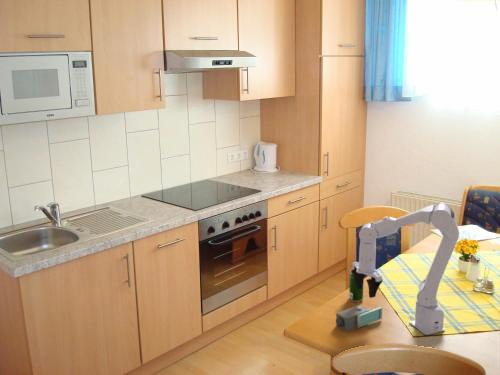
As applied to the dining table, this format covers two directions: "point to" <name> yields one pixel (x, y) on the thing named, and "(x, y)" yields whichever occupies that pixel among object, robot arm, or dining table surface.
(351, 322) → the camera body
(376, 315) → the side door
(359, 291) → the beer can
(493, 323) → the dining table surface
